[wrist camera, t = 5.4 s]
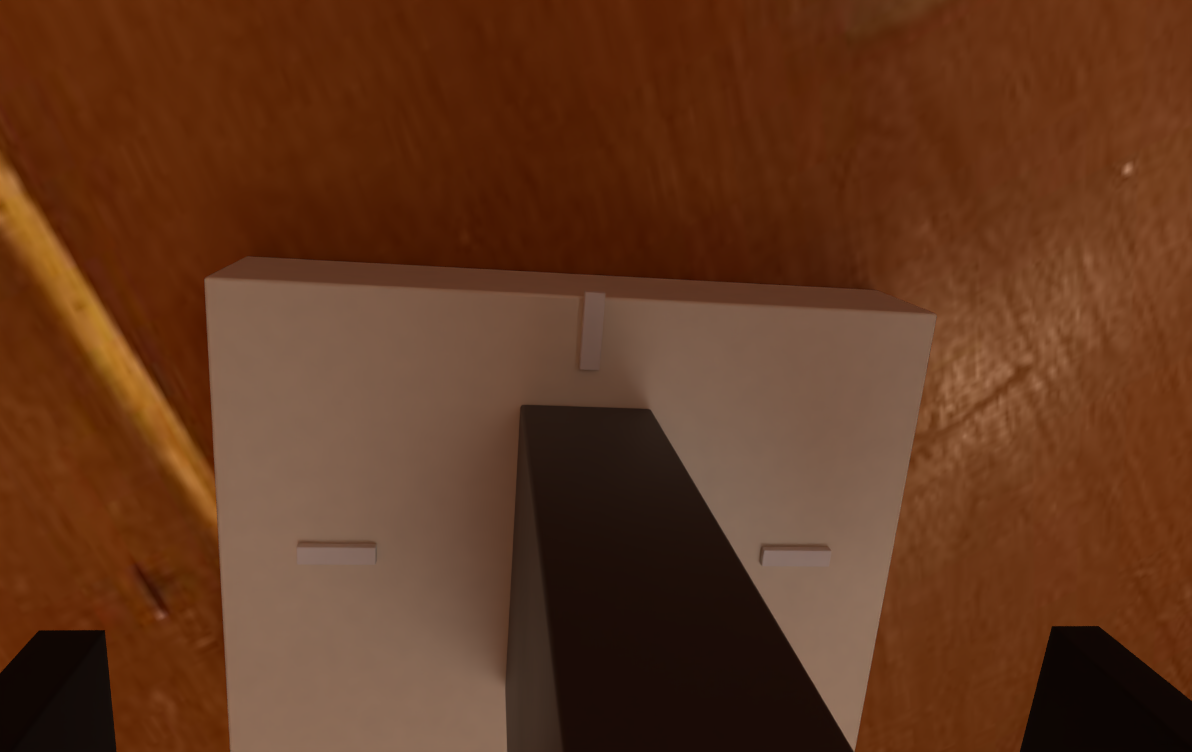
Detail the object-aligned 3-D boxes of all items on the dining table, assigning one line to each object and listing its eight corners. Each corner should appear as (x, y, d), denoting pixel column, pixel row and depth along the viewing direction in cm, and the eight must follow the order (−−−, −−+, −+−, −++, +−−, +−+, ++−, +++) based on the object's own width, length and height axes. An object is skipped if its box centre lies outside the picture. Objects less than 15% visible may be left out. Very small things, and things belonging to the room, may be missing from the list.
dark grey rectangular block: (520, 403, 15) (568, 796, 6) (651, 408, 15) (877, 785, 6) (504, 690, 16) (525, 1327, 8) (624, 688, 17) (773, 1295, 8)
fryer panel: (879, 284, 18) (944, 310, 15) (811, 691, 21) (856, 770, 18) (244, 250, 16) (199, 272, 13) (263, 701, 19) (228, 790, 16)
